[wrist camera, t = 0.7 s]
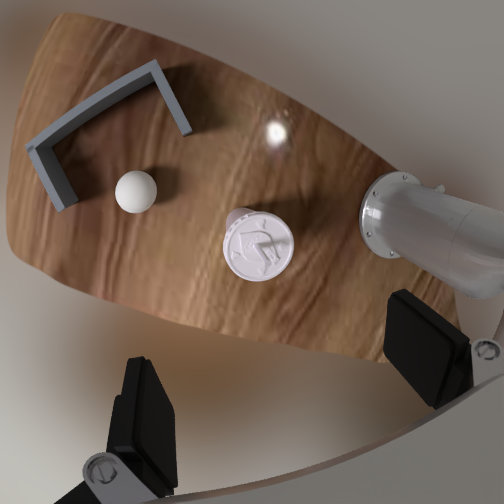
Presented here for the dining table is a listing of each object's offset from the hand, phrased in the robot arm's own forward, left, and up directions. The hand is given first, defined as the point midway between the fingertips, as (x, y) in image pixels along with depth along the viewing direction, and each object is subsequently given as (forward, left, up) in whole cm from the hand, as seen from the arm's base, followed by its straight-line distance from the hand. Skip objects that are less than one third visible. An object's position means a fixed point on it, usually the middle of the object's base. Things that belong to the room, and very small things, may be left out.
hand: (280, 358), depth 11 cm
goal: (+6, -14, -26) cm, 30 cm away
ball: (+6, -6, -24) cm, 26 cm away
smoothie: (-2, +3, -26) cm, 27 cm away
